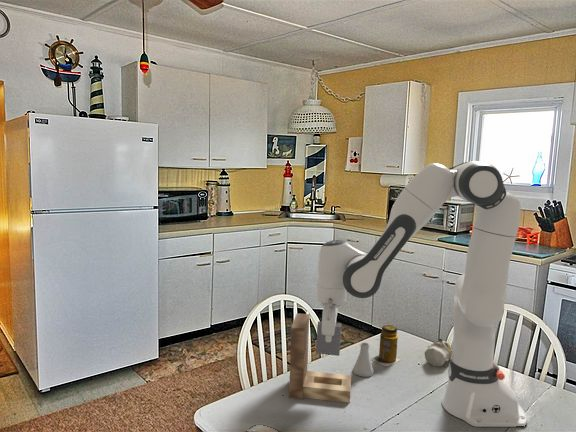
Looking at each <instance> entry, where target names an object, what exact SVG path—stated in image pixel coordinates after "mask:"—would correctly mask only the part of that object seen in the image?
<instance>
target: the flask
mask: <svg viewBox="0 0 576 432" xmlns="http://www.w3.org/2000/svg"><path fill="white" fill-rule="evenodd" d="M370 345H371V344H370V343H369V342H366V341H365V342H364V341H363V342H360V343H359V346H360V351H359V354H358V357H357V359H356V362H355V363H354V365H353V367H352V373H353V374H354V375H356V376H359V377H362V378H363V377H365V378H366V377H372V376H373V375H374V374H375V371H374V367H373V365H372V360H371V358H370V357H371V356H370V352H369V349H370Z"/></svg>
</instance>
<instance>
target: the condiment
mask: <svg viewBox="0 0 576 432" xmlns="http://www.w3.org/2000/svg"><path fill="white" fill-rule="evenodd" d="M398 338H399V337H398V328H397V327H396V326H394V325H391V324H385V325H383V326H382V327H381V333H380V337H379V352H378V355H377V356H374V357H371V358H370V360H371V361H373V362H376V363H377V364H380V365H382V366H385V367H391V365H394V364H396V363H398V362H400V361H401V358H398V357H397V350H398Z"/></svg>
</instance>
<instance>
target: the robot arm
mask: <svg viewBox="0 0 576 432" xmlns="http://www.w3.org/2000/svg"><path fill="white" fill-rule="evenodd" d="M454 197H459V198H460V199H462V200H464V201H466V202H470V203H472V204H474V205H475V207H476V217H475V221H474V223H473V228H472V233H471V236H470V239H469V244H468V246H467V247H468V248H467V251H466V261H465V263H466V264H465V268H464V269H465V270H464V273H463V274H461V275H460V276H458V278H457V279H456V281H455V283H454V289H453V290H454V291H453V333H452V334H453V336H452V345H451V346H452V348H451V351H452V356H451V358H450V360H449V363H448V369H447V370H448V373H447V375H448V381H447V386H446V389H445V393H444V395H443V398H442V400H441V404H442V408H444V410H445V411H446V412H448V413H449V414H450V415H453V416H454V417H456V418H458V419H460V420H463V421H464V422H465V423H468V424H469V425H470V426H473V427H477V428H479V427H480V428H481V427H482V428H483V427H485V428H486V427H487V428H488V427H489V428H490V427H491V428H492V427H494V428H495V427H497V428H498V427H503V428H504V427H505V428H506V427H508V428H509V427H510V428H513V427H516V426H524V427H526V426H525V425H527V424H528V423H527V422H528V420H527V419H528V417H527V414H526V412H525V411H524V409H523V408H522V407H521V405H520V404H519V401H518V397H517V396H516V395H517V394H516V393H515V392H514V390H513V389H512V388H511V387H510V385H508V384H507V383H506V382H504V381H503V380H505V379H506V376H505V373H504V372H503V371H502V370H500V368H499V367H498V366H497V365H496V364H495V363H494V355H495V344H496V343H495V342H496V336H495V325H497V324H498V323H500V321H501V320H502V319H503V316H504V314H505V313H504V312H505V301H506V300H505V299H506V294H507V286H508V278H509V268H510V264H511V258H512V254H513V250H514V247H515V245H516V244H515V243H516V239H517V235H518V231H519V226H520V220H521V212H522V211H521V209H522V205H521V201H520V199H519V197H517V196H516V195H515V194H513V193H511V192H508V191H507V190H506V188H505V184H504V180H503V176H502V175H501V173H500V170H498V169H497V168H496V166H494V165H493V164H490V163H487V162H484V161H479V160H472V161H465V162H462V163H459V164H457V165H455V166H452V167H450V168H448V167H447V166H445V165H443V164H440V163H436V162H435V163H434V162H433V163H429V164H427V165H426V166H424V168H422V169H420V171H419V172H418V173H416V174H415V176H413V177H412V179H411V180H410V181H409V182H408V183H407V184H406V185H405V187H404V188H403V189H402V190H401V192H400V193H399V195H398V196H397V198H396V200H395V201H394V203H393V205H392V207H391V210H390V214H389V219H388V222H387V225H386V227H385V229H384V231H383V233H382V234H381V236H380V237H379V238H378V239H377V240H376V242H375V244H373V245H372V247H371V249H369V250H368V252H364V251H361V250H360V249H357V248H355V247H354V246H352V245H350V243H348V242H347V240H342V239H333V240H329V241H326V242H324V243H323V245H321V246H320V249H319V253H318V260H317V261H318V262H317V263H318V264H317V272H318V278H317V282H316V301H318V302H319V303H320V305H321V307H323V308H322V315H321V316H322V317H321V322H322V329H321V332H322V335H326V338H325V341H326V342H331V340H332V336H333V335H334V332H335V325H336V323H337V317H338V311H339V308H341V307H342V305H343V304H344V303H346V301H347V293H348V294H350V295H351V296H352V297H355V298H358V299H367V298H370V297H373V296H374V295H375V294H377V292H378V291H379V289H380V287H381V284H382V279H383V275H384V273H385V271H386V270H387V268H388V267H389V265H390V264H391V263H392V261H394V260H395V258H396V257H397V255H398V254H399V252H400V251H401V250H402V249H403V247H404V246H405V245H406V244H407V243H408V242H409V241H410V240H411V239H412V237H414V236H415V235H416V233H418V232H419V231H421V229H422V228H423V227H425V225H426V224H427V223H428V222H430V220H431V219H432V218H433V217H434V216H435V215H436V214H437V212H438V211H439V210H440V209H441V207H442V206H443V205H444V204H445V203H446V202H447V201H448V200H450V199H451V198H454ZM526 423H527V424H526Z"/></svg>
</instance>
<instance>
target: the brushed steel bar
mask: <svg viewBox="0 0 576 432" xmlns="http://www.w3.org/2000/svg"><path fill="white" fill-rule="evenodd" d="M316 325H317V326H316V347H315V354H318V355H319V354H320V355H326V356H327V355H329V356H338V357H340V352H341V336H342V323H340V322H336V325H335V332H334V335H333V336H332V340H331V342H326V341H325V338H326V335H322V332H321V329H322V321H320V320H319V321H318V322H317V324H316Z"/></svg>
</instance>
